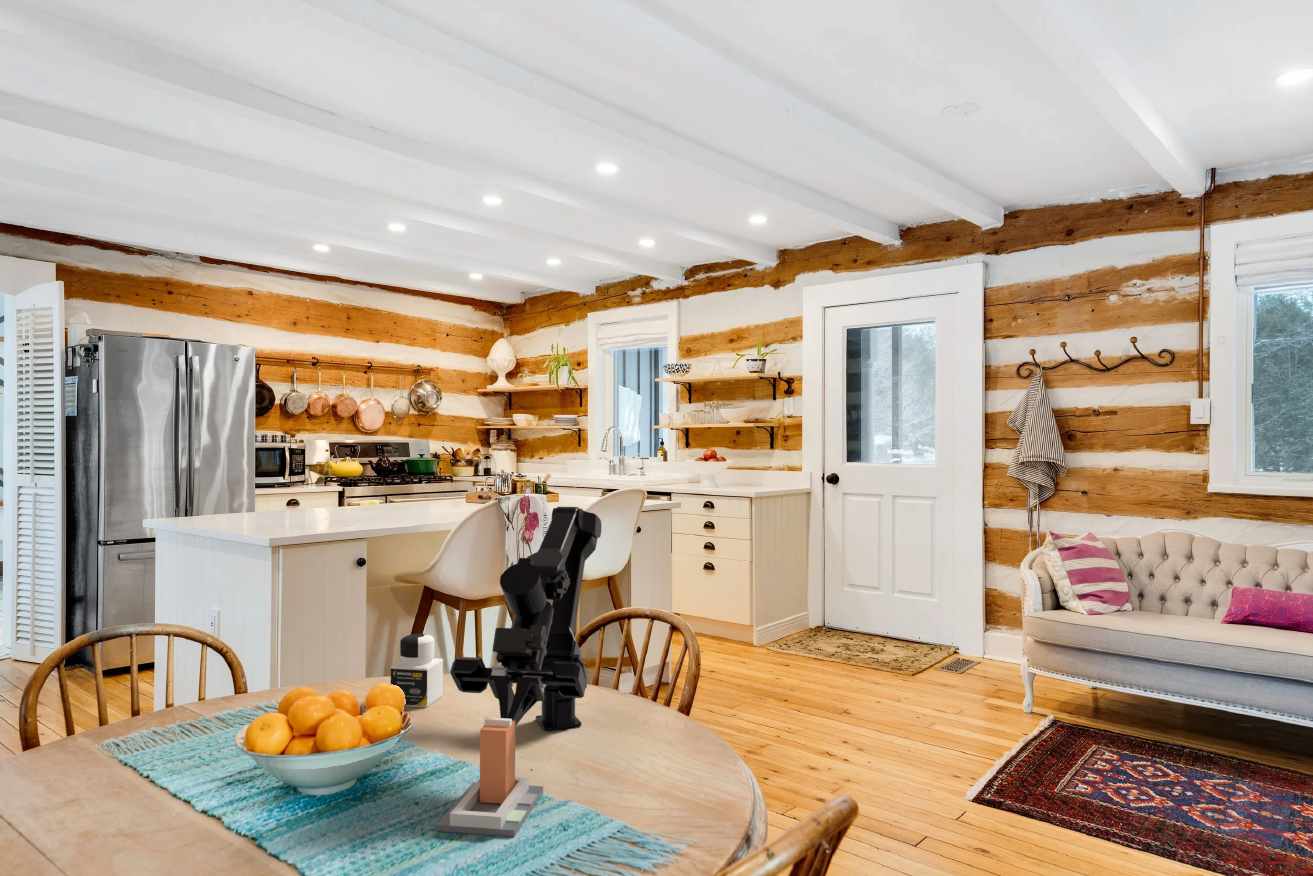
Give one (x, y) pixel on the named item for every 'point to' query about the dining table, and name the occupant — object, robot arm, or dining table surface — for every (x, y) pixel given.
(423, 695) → the medicine bottle
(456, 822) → the grey framed base plate
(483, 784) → the orange juice carton
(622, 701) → the dining table surface
